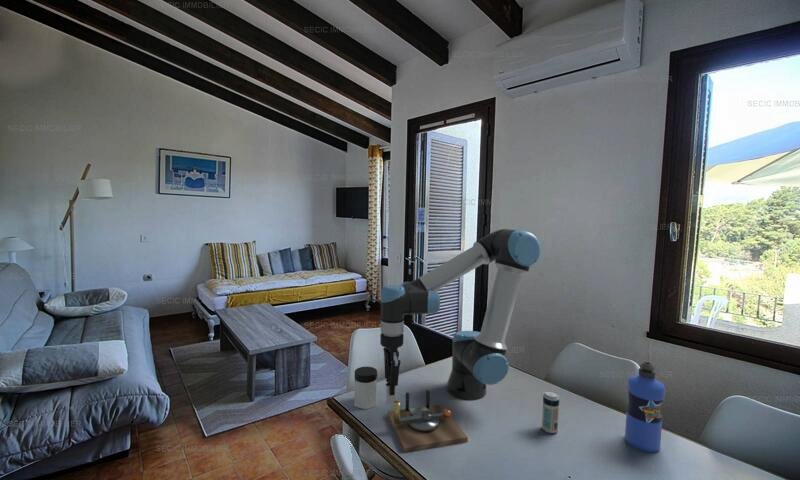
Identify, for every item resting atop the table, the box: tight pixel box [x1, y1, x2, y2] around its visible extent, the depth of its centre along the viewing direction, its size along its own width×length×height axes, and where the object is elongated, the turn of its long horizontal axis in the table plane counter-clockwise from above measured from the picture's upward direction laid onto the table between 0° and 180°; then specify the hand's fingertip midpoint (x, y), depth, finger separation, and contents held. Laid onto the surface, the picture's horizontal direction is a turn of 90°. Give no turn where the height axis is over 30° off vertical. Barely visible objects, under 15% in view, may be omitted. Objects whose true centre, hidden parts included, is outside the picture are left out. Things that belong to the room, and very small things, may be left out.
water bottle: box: [624, 361, 666, 454], centre depth 112 cm, size 9×9×25 cm
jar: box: [353, 366, 378, 410], centre depth 133 cm, size 9×8×12 cm
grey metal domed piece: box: [393, 400, 452, 432], centre depth 118 cm, size 19×10×8 cm, turn 106°
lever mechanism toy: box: [386, 389, 469, 454], centre depth 118 cm, size 20×20×8 cm
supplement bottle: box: [541, 390, 561, 434], centre depth 118 cm, size 5×5×12 cm
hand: (390, 402), depth 122 cm, fingers closed
